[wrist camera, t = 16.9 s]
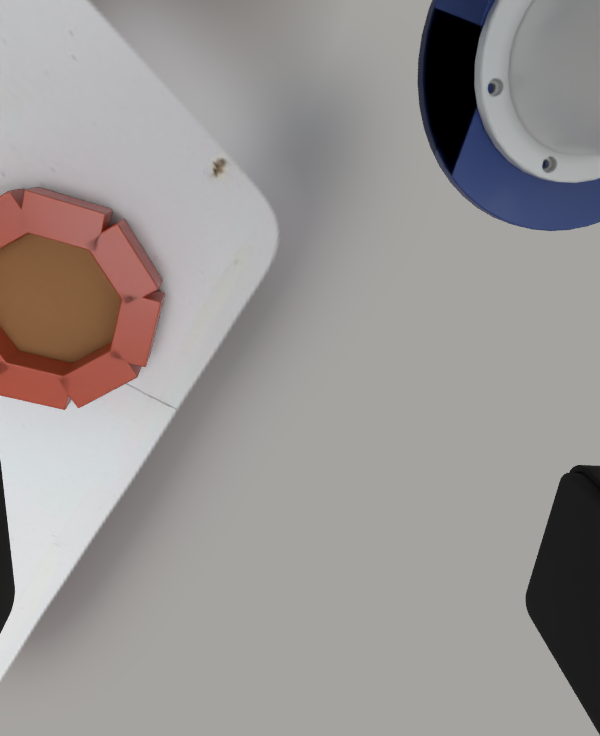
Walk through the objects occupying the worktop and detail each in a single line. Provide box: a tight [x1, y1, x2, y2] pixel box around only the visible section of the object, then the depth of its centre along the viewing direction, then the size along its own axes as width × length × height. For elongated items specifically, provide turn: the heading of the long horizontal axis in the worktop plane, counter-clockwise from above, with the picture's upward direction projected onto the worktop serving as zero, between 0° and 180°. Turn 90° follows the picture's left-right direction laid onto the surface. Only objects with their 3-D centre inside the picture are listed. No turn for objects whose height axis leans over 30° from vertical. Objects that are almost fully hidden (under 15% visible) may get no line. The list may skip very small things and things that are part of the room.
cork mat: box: [0, 233, 121, 363], centre depth 32 cm, size 7×7×1 cm
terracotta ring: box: [0, 187, 165, 410], centre depth 30 cm, size 11×11×2 cm
